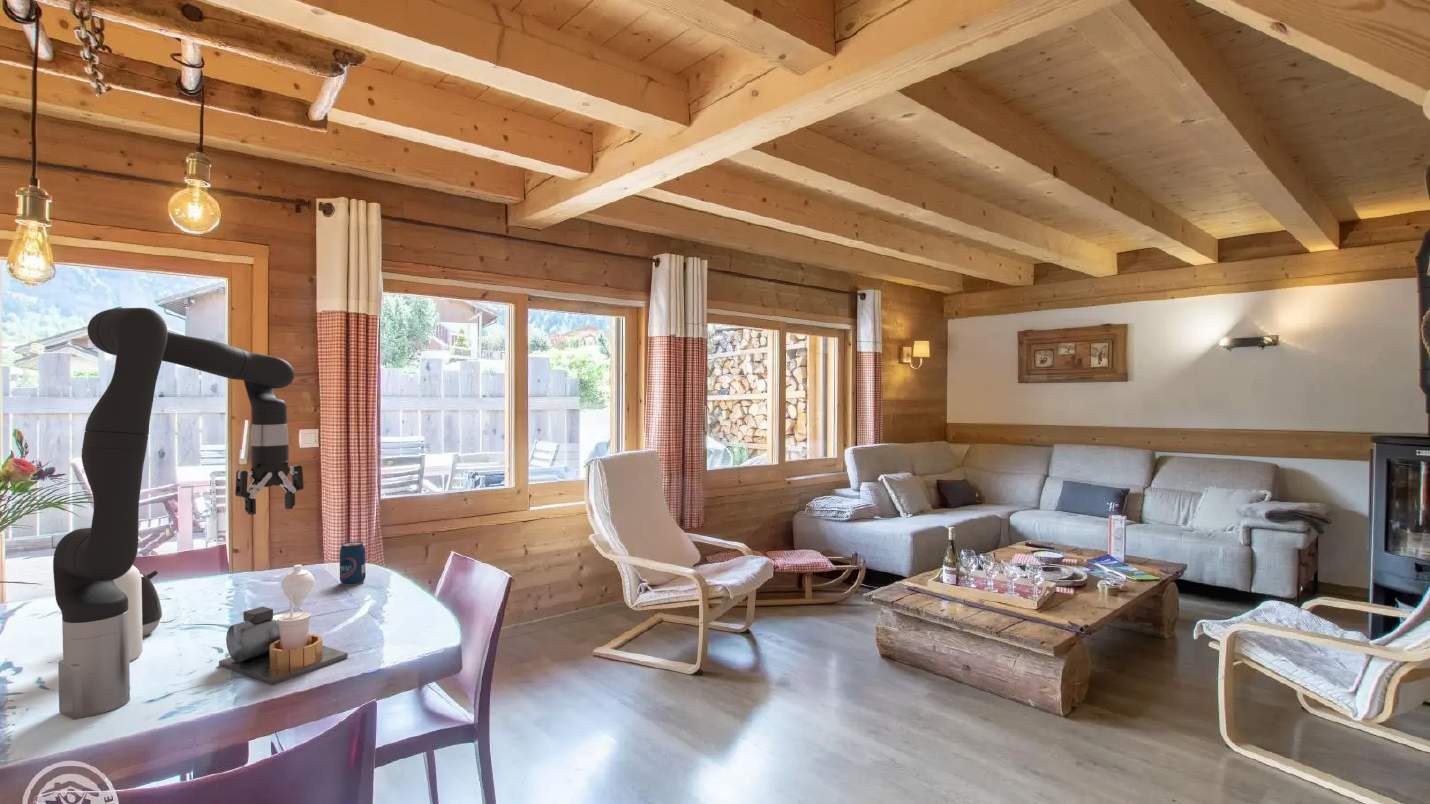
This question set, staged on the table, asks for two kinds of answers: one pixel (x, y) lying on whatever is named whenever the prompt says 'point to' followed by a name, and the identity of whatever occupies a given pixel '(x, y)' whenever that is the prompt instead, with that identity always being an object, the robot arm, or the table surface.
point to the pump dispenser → (150, 604)
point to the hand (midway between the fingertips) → (270, 511)
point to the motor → (272, 649)
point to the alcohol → (133, 609)
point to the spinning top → (298, 584)
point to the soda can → (352, 563)
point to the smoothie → (294, 628)
